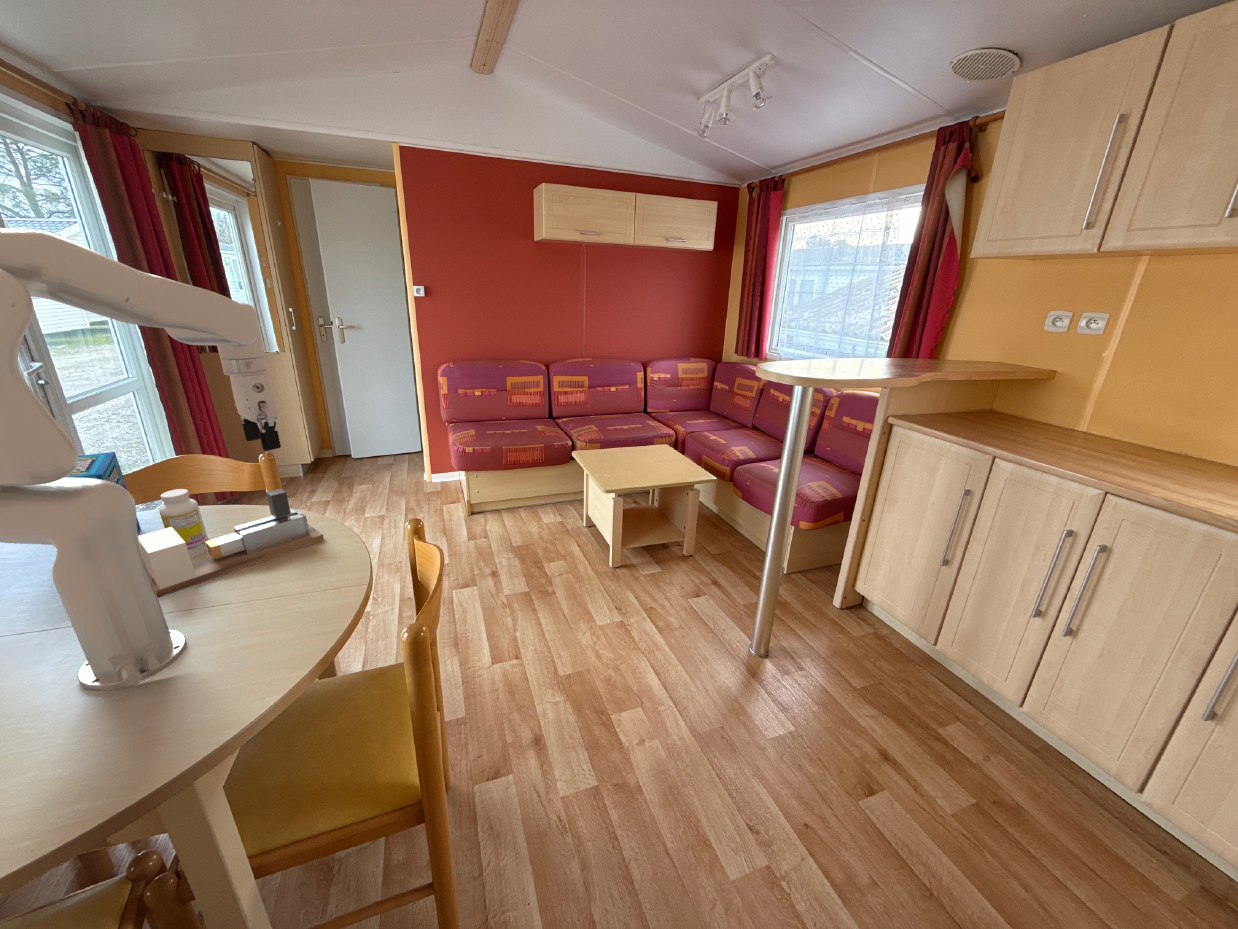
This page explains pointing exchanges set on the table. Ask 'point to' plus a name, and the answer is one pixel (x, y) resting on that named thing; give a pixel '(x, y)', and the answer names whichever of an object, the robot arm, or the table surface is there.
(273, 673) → the table surface
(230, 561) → the base board
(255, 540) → the outer sleeve
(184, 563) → the block
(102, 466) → the box
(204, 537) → the supplement bottle
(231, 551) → the sliding bolt latch
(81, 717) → the table surface
